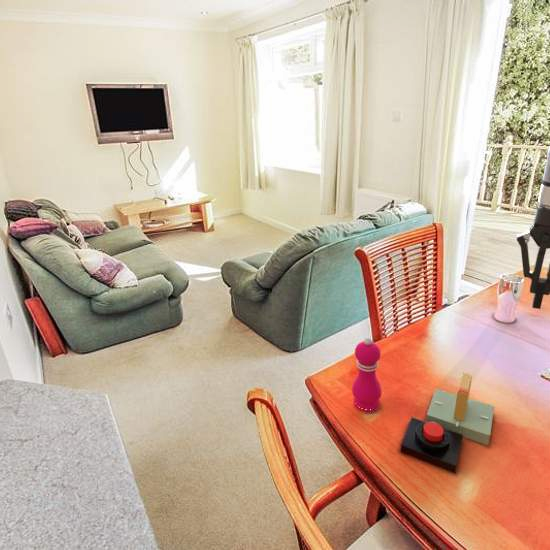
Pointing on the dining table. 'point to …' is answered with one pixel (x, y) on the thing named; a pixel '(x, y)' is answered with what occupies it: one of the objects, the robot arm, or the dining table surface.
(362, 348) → the pepper mill
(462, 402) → the handle
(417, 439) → the button block
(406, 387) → the dining table surface
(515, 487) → the dining table surface
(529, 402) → the dining table surface
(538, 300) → the robot arm
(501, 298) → the beer glass
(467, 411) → the plate
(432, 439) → the button
